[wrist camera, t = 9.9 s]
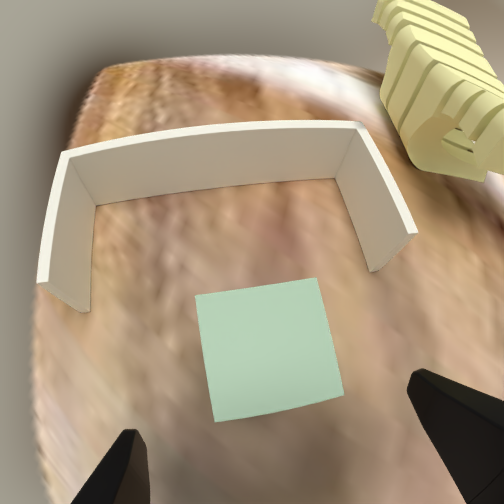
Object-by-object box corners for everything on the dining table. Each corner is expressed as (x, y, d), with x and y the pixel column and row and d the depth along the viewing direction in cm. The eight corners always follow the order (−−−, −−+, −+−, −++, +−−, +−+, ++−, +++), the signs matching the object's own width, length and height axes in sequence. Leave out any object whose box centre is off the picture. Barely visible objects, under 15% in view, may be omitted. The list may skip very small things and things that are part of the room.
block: (283, 393, 21) (344, 394, 9) (222, 404, 20) (214, 422, 9) (271, 336, 22) (316, 277, 11) (212, 346, 22) (195, 295, 11)
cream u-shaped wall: (378, 270, 26) (418, 232, 19) (80, 312, 22) (36, 283, 16) (340, 170, 30) (361, 121, 24) (88, 199, 27) (61, 151, 20)
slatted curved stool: (354, 72, 41) (383, -18, 25) (430, 91, 42) (465, 18, 26) (422, 228, 28) (525, 105, 12) (505, 234, 29) (588, 154, 13)
